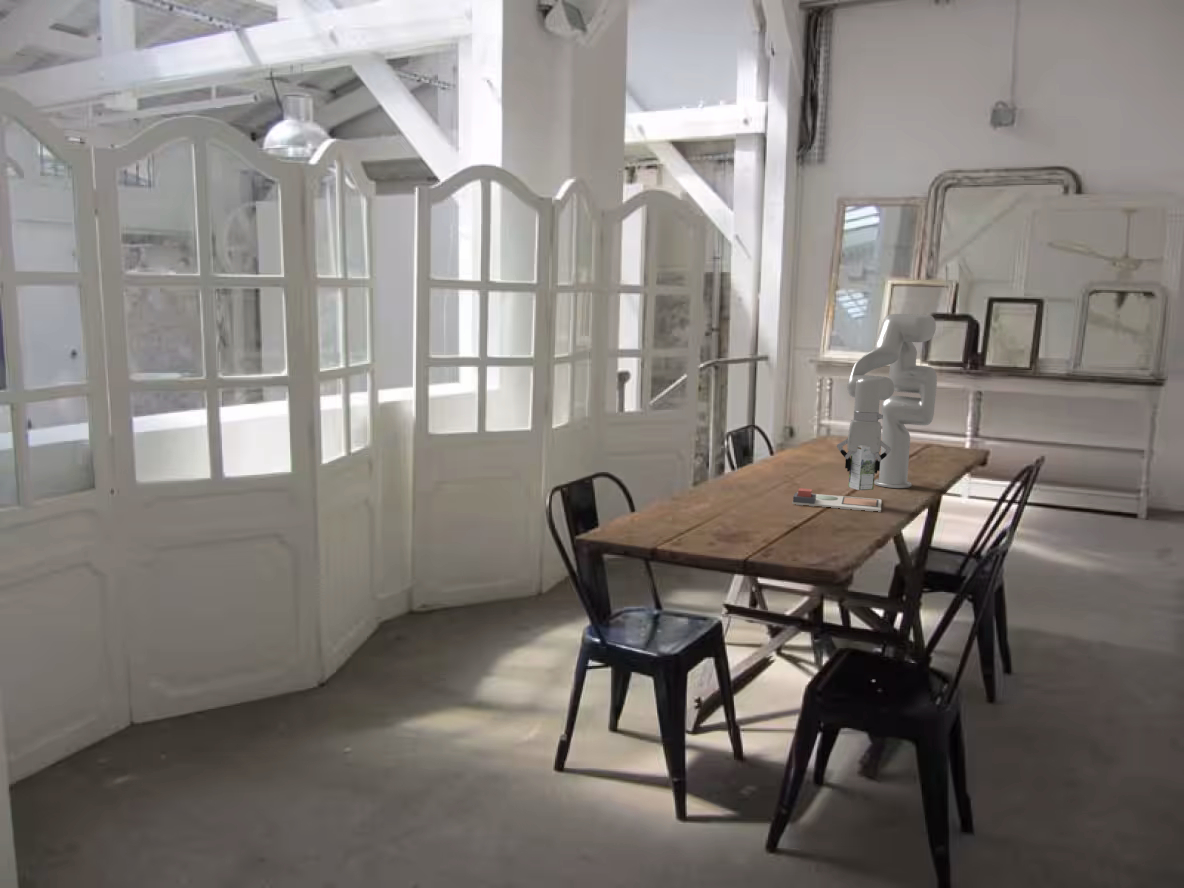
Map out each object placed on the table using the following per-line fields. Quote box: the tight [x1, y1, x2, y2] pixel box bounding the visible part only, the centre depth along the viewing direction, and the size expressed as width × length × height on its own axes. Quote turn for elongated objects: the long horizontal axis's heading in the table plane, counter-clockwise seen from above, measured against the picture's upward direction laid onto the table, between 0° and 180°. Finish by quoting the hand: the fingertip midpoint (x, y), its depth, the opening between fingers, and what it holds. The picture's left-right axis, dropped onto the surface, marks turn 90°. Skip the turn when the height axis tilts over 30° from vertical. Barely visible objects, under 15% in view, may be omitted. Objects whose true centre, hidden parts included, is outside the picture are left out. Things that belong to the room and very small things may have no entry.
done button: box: [797, 487, 813, 497], centre depth 313 cm, size 4×4×2 cm
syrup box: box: [847, 445, 877, 491], centre depth 311 cm, size 6×6×14 cm
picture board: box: [791, 492, 882, 513], centre depth 314 cm, size 16×27×3 cm, turn 73°
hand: (862, 471), depth 312 cm, fingers closed on syrup box, 8 cm apart
